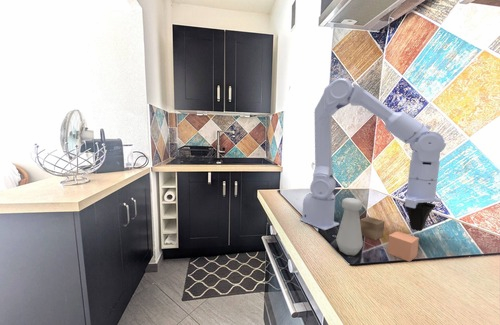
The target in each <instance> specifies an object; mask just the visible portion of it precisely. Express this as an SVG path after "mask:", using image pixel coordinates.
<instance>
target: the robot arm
mask: <svg viewBox="0 0 500 325" xmlns="http://www.w3.org/2000/svg"><path fill="white" fill-rule="evenodd" d="M349 104H350V105H351V106H353V107H357V106H358V107H360V106H361V107H362V108H364V109H366V110H367V111H368V112H370V113H371V114H373V115H374V116H376V117H378V118H379V119H380V120H382V121H384V124H385V130H386V131H388V132H389V133H391V134H392V135H393V136H395V137H396V138H397V139H399V140H400V141H401V142H403V143H404V144H409V147H410V149H411V151H412V152H411V159H410V161H409V169H408V177H407V179H408V180H407V190H406V193H405V199H404V202H403V205H404V208H405V209H406V212H407V213H408V214H407V215H408V219H409V221H408V222H409V225H410V226H409V227H410V229H411V230H415V231H418V232H421V231H423V229H424V227H425V225H426V223H427V220H428V217H429V216H430V214H431V212H432V211H433V210H434V209H435V208H436V204H435V203H441V202H442V198H440V197H437V196H436V195H437V194H436V193H437V186H438V178H439V170H440V158H441V157H440V156H441V152H442V151H444V150H445V148H446V146H447V143H446V142H445V140H444V137H443V135H442V134H440V133H438V132H436V131H430V130H431V126H429V125H428V124H427V125H424V124H423V123H421V122H420V121H419V120H417V119H415V118H414V117H415V115H414V114H413V113H412V112H408V113H407V112H406V111H398V112H397V111H396V112H395V111H394V110H392V109H391V108H390V107H388V106H387V105H386V104H385V103H383V102H382V101H380V100H379V99H378V98H377V97H375V96H374V95H373V94H372V93H370V92H369V91H367V90H366V89H365V88H363V87H362V86H360V85H359V84H357V83H354V82H353V83H352V82H351V81H350V80H349V79H347V78H346V77H340V78H336V79H334V80H333V81H332V82H330V83H329V84H328V85H327V86H325V88H324V91H323V94H322V95H321V96H320V99H319V101H318V103H317V105H316V106H315V108H314V112H313V113H314V161H315V163H314V164H315V166H314V170H313V174H312V176H313V177H312V181H311V183H310V185H309V186H310V187H309V188H310V192H311V193H308V194H306V195H305V196H304V198H303V201H302V215H301V216H302V218H300V221H301V222H303V223H305V224H308V225H310V226H313V227H315V228H318V229H320V230H322V231H326V230H329V229H332V228H335V227H337V226H340V222H337V221H335V209H336V208H335V206H336V196H335V194H334V192H333V191H335V189H336V187H337V181H336V179H335V177H334V171H333V170H334V169H333V166H332V164H333V163H332V160H333V159H332V158H333V157H332V155H333V154H332V117H333V115H334V114H336V113H337V112H338V111H339V110H340V109H342V108H345V107H346V106H348V105H349ZM433 202H435V203H433Z"/></svg>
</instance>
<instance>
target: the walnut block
mask: <svg viewBox="0 0 500 325" xmlns="http://www.w3.org/2000/svg"><path fill="white" fill-rule="evenodd" d="M385 222H386V221H385V220H381V219H378V218H375V217H371V216H366V217H364V218H361V219H360V225H361V233H362V237H365V238H369V239H371V240H374V241H378V240H380V239H381V238H383V237H384V231H385Z"/></svg>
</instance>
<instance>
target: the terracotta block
mask: <svg viewBox="0 0 500 325" xmlns="http://www.w3.org/2000/svg"><path fill="white" fill-rule="evenodd" d="M419 241H420V238H419V237H418V236H414V235H410V234H408V233H404V232H401V231H398V230H396V231H394V232H393V233H391V234H389V235H388V242H387V252H386V253H387V254H389V255H391V256H394V257H397V258H399V259H401V260H404V261H407V262H409V263H410V262H412V260H414V259H415V258H416V257H417V256H418V251H419V250H418V248H419Z"/></svg>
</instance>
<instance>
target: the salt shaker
mask: <svg viewBox="0 0 500 325" xmlns="http://www.w3.org/2000/svg"><path fill="white" fill-rule="evenodd" d="M341 206H342V208H343V214H342V218H341V221H340V223H339V229H338V231H337V235H336V237H335V238H336V239H335V240H336V243H337V246H338V250H339V252H341V253H342V254H344V255H345V256H346V255H347V256H354V257H355V256H357V255H358V254H359V253H360V251H361V249H362V248H363V245H364V241H363V235H362V233H361V225H360V218H361V217H360V211H362V209H363V202H362V201H361V200H360V199H357V198H355V197H346V198H343V199H342V201H341Z"/></svg>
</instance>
